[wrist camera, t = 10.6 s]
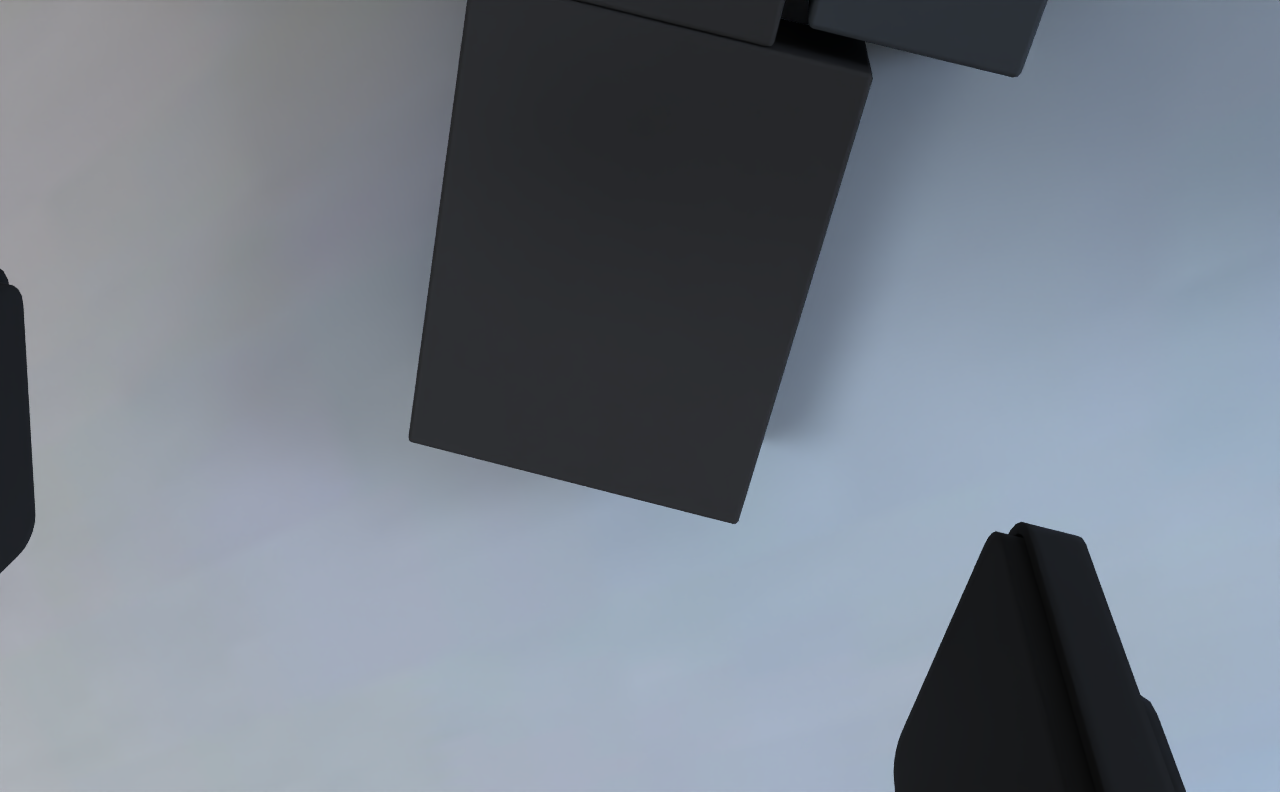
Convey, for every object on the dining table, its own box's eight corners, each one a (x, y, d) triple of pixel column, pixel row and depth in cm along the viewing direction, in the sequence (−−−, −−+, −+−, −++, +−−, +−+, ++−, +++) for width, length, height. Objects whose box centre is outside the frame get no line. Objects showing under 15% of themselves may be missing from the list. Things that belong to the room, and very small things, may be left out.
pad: (546, -249, 18) (500, -258, 15) (924, -158, 18) (943, -153, 15) (453, 369, 23) (406, 442, 20) (746, 443, 23) (737, 526, 20)
